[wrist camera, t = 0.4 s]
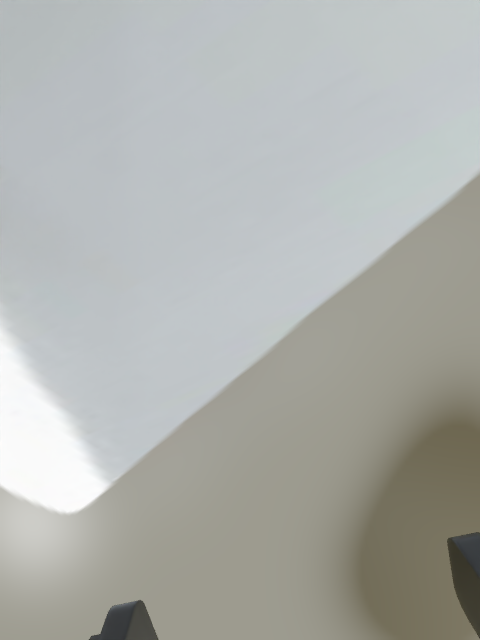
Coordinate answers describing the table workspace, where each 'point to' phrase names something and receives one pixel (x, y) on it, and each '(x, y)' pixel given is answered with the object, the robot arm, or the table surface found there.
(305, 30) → the table surface
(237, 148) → the table surface
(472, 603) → the robot arm
